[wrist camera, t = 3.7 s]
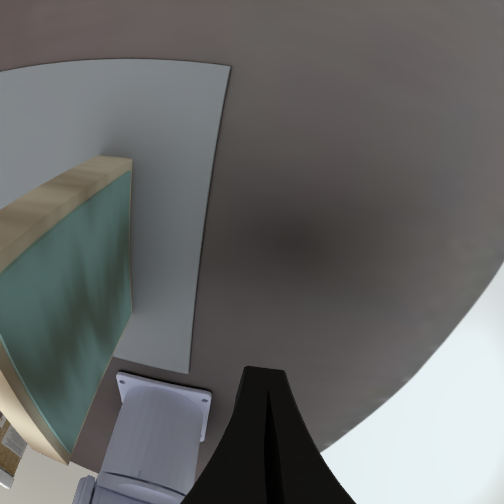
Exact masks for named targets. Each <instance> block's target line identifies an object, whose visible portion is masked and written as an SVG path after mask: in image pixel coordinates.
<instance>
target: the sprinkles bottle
mask: <svg viewBox="0 0 504 504" xmlns="http://www.w3.org/2000/svg"><path fill="white" fill-rule="evenodd" d="M26 446H27V443H26V441H25V440H24V439H23V438H22V437H21V436H20V434H19V433H18V432H17V431H16V430H15V428H14V427H13V426H12V425H11V423H10V422H9V421H8V420H7V418H6V417H5V416H4V414H3V416H2V417H1V420H0V485H2V486H4V487H6V488H7V489H10V488H11V486H12V484H13V481H14V478H13V477H14V474H15V471H16V469H17V467H18V464H19V462H20V459H21V458H22V455H23V453H24V451H25V448H26Z"/></svg>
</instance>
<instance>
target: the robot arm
mask: <svg viewBox="0 0 504 504" xmlns="http://www.w3.org/2000/svg"><path fill="white" fill-rule="evenodd" d="M116 378H117V383H118V387H119V391H120V396H121V400H122V406H121V409H120V412H119V415H118V418H117V421H116V424H115V427H114V430H113V433H112V436H111V439H110V442H109V445H108V448H107V451H106V455H105V458H104V461H103V464H102V468H101V471H100V473H99V475H98V477H97V479H96V481H95V478H94V477H92V476H90V475H88V476H87V477H84V478H81V479H80V481H79V484H78V486H77V490H76V493H75V496H74V500H73V503H72V504H356V503H355V502H354V500H353V499H352V498H351V497H350V496H349V494H348V493H347V492H346V491H345V490H344V488H343V487H342V486H341V485H340V483H339V482H338V480H337V479H336V478H335V476H334V475H333V473H332V472H331V470H330V469H329V467H328V466H327V464H326V463H325V461H324V459H323V458H322V456H321V454H320V453H319V451H318V449H317V447H316V445H315V443H314V442H313V440H312V438H311V436H310V434H309V432H308V430H307V428H306V425H305V423H304V421H303V419H302V416H301V414H300V412H299V409H298V407H297V405H296V402H295V399H294V397H293V394H292V391H291V389H290V386H289V383H288V379H287V376H286V373H285V372H284V370H277V369H269V368H261V367H254V366H246V367H244V370H243V374H242V377H241V381H240V384H239V388H238V391H237V395H236V400H235V406H234V411H233V415H232V417H231V420H230V422H229V424H228V426H227V428H226V430H225V433H224V435H223V437H222V439H221V441H220V443H219V445H218V447H217V448H216V450H215V452H214V454H213V456H212V457H211V459H210V461H209V462H208V464H207V466H206V467H205V469H204V470H203V472H202V474H201V475H200V477H199V478H198V480H197V481H196V483H195V484H194V478H195V471H196V464H197V457H198V450H199V443H200V442H202V441H204V437H205V432H206V426H207V420H208V414H209V409H210V403H211V397H212V394H211V393H210V392H209V391H205V390H199V389H194V388H189V387H184V386H179V385H174V384H169V383H165V382H160V381H156V380H152V379H148V378H144V377H140V376H136V375H132V374H128V373H124V372H118V373H117V375H116ZM193 485H194V486H193Z"/></svg>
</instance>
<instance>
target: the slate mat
mask: <svg viewBox="0 0 504 504" xmlns="http://www.w3.org/2000/svg"><path fill="white" fill-rule="evenodd" d="M230 69H231V67H230V66H224V65H217V64H208V63H199V62H188V61H174V60H155V59H103V60H84V61H71V62H61V63H52V64H44V65H37V66H30V67H24V68H18V69H13V70H8V71H3V72H0V210H1V209H2V208H4V207H6V206H7V205H9V204H10V203H12V202H13V201H15V200H17V199H18V198H20V197H21V196H23V195H25V194H26V193H28V192H30V191H31V190H33V189H35V188H37V187H38V186H40V185H42V184H44V183H45V182H47V181H49V180H51V179H53V178H54V177H56V176H58V175H60V174H62V173H64V172H66V171H68V170H69V169H71V168H73V167H75V166H77V165H79V164H81V163H83V162H85V161H87V160H89V159H92V158H94V157H96V156H98V155H102V156H112V157H122V158H130V159H133V165H132V180H131V203H130V277H131V299H132V316H131V318H130V320H129V322H128V325H127V327H126V329H125V331H124V333H123V335H122V337H121V339H120V341H119V343H118V345H117V348H116V350H115V352H114V354H113V357H117V358H121V359H124V360H128V361H132V362H136V363H140V364H144V365H148V366H152V367H157V368H161V369H165V370H170V371H175V372H179V373H184V374H188V373H189V364H190V352H191V340H192V329H193V319H194V309H195V299H196V290H197V281H198V272H199V264H200V255H201V247H202V239H203V232H204V224H205V217H206V210H207V203H208V196H209V189H210V182H211V176H212V170H213V163H214V157H215V151H216V145H217V139H218V133H219V128H220V122H221V116H222V111H223V105H224V100H225V95H226V90H227V84H228V79H229V74H230Z"/></svg>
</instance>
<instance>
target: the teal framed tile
mask: <svg viewBox="0 0 504 504" xmlns="http://www.w3.org/2000/svg"><path fill="white" fill-rule="evenodd" d="M132 165H133V159H130V158H122V157H112V156H102V155H98V156H96V157H94V158H92V159H89V160H87V161H85V162H83V163H81V164H79V165H77V166H75V167H73V168H71V169H69V170H68V171H66V172H64V173H62V174H60V175H58V176H56V177H54V178H53V179H51V180H49V181H47V182H45V183H44V184H42V185H40V186H38V187H37V188H35V189H33V190H31V191H30V192H28V193H26V194H25V195H23V196H21V197H20V198H18V199H17V200H15V201H13V202H12V203H10V204H9V205H7V206H6V207H4V208H2V209H1V210H0V411H1V412H2V413H3V414H4V416H5V417H6V418H7V420H8V421H9V422H10V423H11V425H12V426H13V427H14V428H15V430H16V431H17V432H18V433H19V434H20V436H21V437H22V438H23V439H24V440H25V441H26V443H27V444H28V445H29V446H30V447H31V448H32V449H33V450H35V451H37V452H39V453H41V454H43V455H45V456H47V457H50V458H52V459H54V460H56V461H59V462H61V463H63V464H66V465H68V464H69V462H70V459H71V456H72V453H73V450H74V448H75V445H76V442H77V440H78V437H79V434H80V432H81V429H82V427H83V424H84V422H85V419H86V417H87V414H88V412H89V409H90V407H91V404H92V402H93V400H94V397H95V395H96V392H97V390H98V388H99V385H100V383H101V381H102V379H103V376H104V374H105V372H106V369H107V367H108V365H109V363H110V361H111V358H112V356H113V354H114V352H115V350H116V348H117V345H118V343H119V341H120V339H121V337H122V335H123V333H124V331H125V329H126V327H127V325H128V322H129V320H130V318H131V316H132V299H131V277H130V203H131V180H132Z"/></svg>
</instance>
